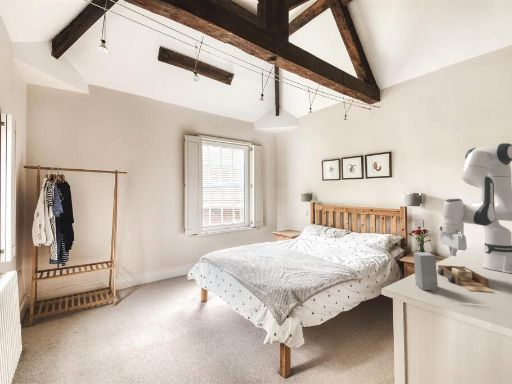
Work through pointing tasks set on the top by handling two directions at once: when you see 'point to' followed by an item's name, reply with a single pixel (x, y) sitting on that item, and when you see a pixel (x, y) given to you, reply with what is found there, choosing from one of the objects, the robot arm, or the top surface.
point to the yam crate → (463, 273)
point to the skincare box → (425, 271)
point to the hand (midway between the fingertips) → (452, 255)
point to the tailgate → (477, 288)
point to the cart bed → (453, 278)
